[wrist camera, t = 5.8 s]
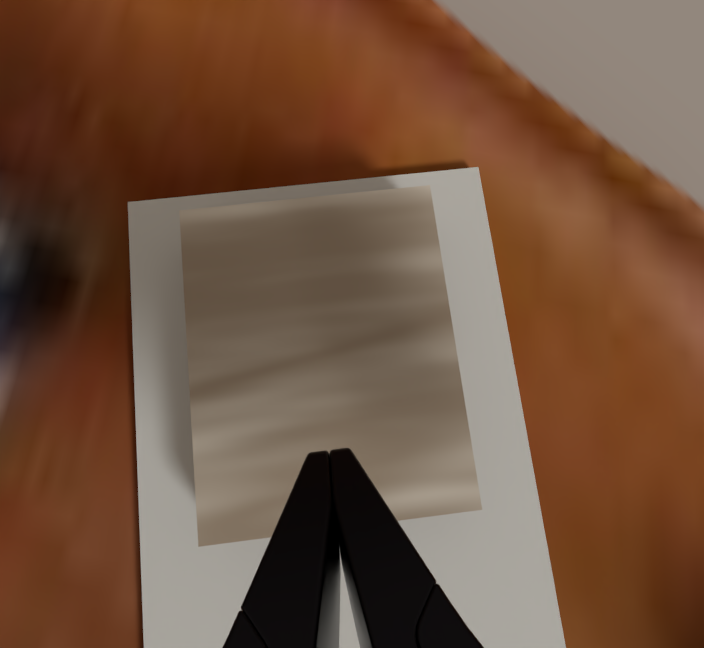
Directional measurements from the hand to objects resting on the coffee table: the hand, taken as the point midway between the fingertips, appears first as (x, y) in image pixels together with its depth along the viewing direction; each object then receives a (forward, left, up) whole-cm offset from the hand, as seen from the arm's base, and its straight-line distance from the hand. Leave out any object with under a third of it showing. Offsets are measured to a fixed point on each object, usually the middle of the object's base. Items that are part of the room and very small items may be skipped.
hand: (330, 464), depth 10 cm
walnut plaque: (-1, -2, -6) cm, 6 cm away
